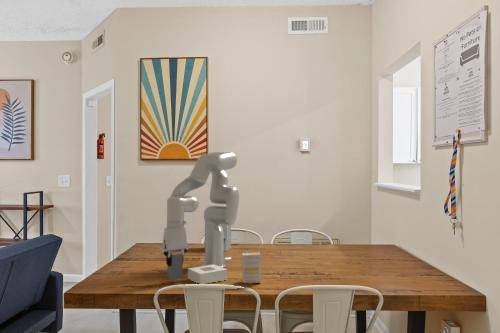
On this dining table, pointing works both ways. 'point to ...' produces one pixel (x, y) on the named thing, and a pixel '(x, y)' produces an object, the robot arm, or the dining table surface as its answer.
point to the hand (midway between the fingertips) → (174, 264)
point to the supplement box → (251, 268)
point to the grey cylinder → (175, 265)
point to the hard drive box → (226, 237)
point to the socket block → (207, 274)
